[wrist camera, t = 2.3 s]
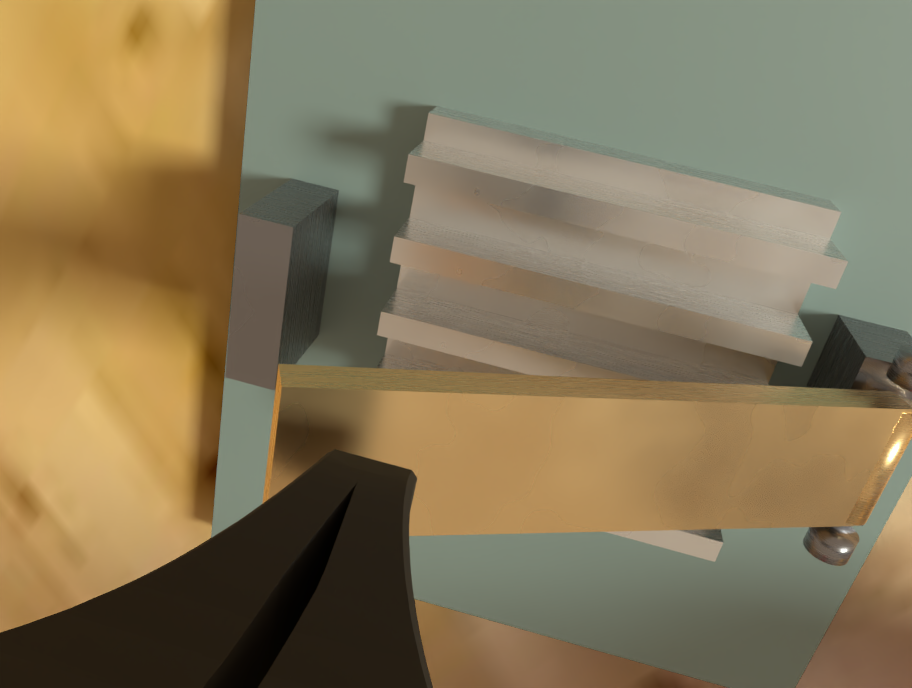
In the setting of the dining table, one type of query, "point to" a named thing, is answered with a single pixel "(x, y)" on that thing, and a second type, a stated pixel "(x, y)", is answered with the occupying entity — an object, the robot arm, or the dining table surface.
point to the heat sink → (571, 278)
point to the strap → (595, 448)
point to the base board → (629, 129)
